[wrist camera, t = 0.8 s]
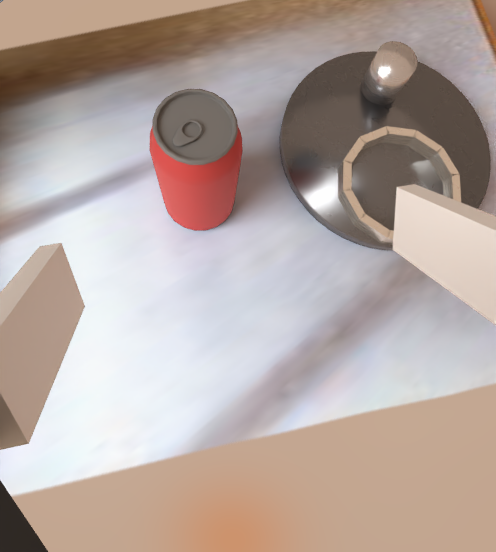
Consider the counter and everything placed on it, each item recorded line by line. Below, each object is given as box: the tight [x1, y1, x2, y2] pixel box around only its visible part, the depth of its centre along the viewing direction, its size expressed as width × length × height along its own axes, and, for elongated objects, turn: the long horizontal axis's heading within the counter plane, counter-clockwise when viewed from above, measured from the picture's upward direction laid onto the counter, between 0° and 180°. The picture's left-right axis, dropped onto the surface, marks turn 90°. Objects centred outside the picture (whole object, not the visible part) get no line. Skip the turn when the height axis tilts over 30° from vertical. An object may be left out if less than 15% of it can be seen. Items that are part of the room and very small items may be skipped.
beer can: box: [150, 89, 242, 230], centre depth 31 cm, size 7×7×12 cm
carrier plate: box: [280, 41, 490, 251], centre depth 37 cm, size 22×22×5 cm
